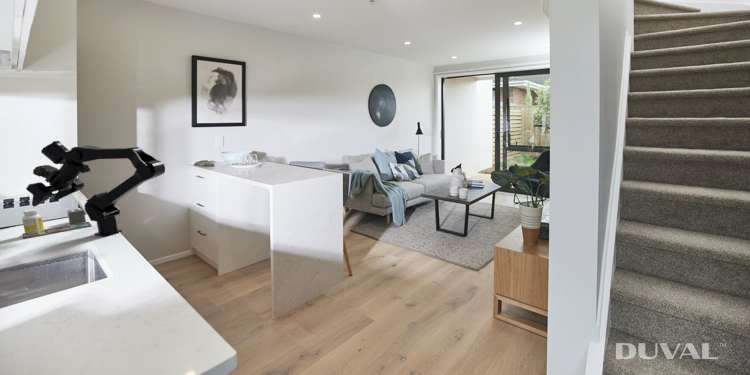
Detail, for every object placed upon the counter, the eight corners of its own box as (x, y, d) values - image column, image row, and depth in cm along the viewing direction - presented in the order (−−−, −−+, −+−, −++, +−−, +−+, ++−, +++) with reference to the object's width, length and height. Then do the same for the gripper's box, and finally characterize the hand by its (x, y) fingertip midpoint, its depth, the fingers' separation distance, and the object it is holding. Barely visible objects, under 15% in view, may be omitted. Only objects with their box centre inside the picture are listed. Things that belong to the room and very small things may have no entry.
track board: (88, 222, 153) (88, 221, 152) (91, 226, 148) (91, 225, 148) (22, 234, 139) (22, 233, 139) (23, 239, 134) (23, 237, 134)
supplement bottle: (31, 237, 135) (25, 212, 133) (22, 236, 137) (16, 211, 135) (48, 233, 140) (43, 209, 138) (39, 231, 142) (34, 208, 140)
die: (84, 219, 158) (81, 207, 157) (85, 221, 154) (83, 209, 153) (69, 222, 154) (66, 209, 153) (70, 224, 151) (68, 211, 150)
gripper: (71, 154, 142) (48, 183, 144) (25, 161, 123) (0, 193, 126) (94, 174, 143) (72, 202, 146) (53, 183, 125) (28, 215, 127)
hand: (44, 202), depth 136 cm, fingers open, 9 cm apart
